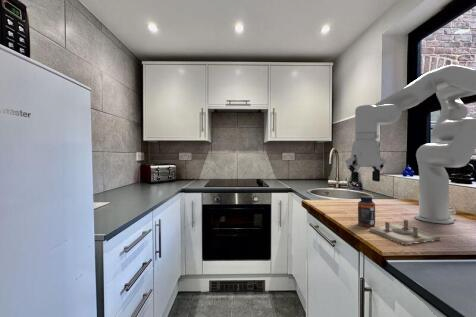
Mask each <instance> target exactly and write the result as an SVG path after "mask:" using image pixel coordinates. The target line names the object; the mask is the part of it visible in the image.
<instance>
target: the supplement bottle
mask: <svg viewBox="0 0 476 317" xmlns="http://www.w3.org/2000/svg"><path fill="white" fill-rule="evenodd" d="M357 222H358V223H357V224H358V225H359V226H361V227H366V228H371V227H376V203H375V202H374V201H373V196H370V195H361V196H360V200H359V201H358V203H357Z"/></svg>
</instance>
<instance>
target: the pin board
mask: <svg viewBox="0 0 476 317" xmlns="http://www.w3.org/2000/svg"><path fill="white" fill-rule="evenodd" d="M369 232H371V233H374V234H375V235H378V234H379V235H378V236H380V237H383V236H384V237H383V238H385V239H388V238H389V239H388V240H391V239H392V241H393V240H395V241H398V242H401V243H403V244H409V243H415V242H424V241H432V240H439V239H440V240H441V236H440V235H436V234H432V233H429V232H426V231H423V230H421V229H419V228H418V227H417V226H413V227H411V226H409V220H408V219H403V223H399V224H391V225H390V222H389V221H385V224H384V225H383V226H381V225H380V226H373V227H369ZM440 240H439V241H440ZM395 241H394V242H395ZM398 242H397V243H398ZM432 242H433V241H432ZM403 244H402V245H403Z"/></svg>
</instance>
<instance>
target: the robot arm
mask: <svg viewBox="0 0 476 317" xmlns="http://www.w3.org/2000/svg"><path fill="white" fill-rule="evenodd" d="M433 94H436V97H437V100H438V102H439V104H440V107H441V111H440V113H439V116H438V118H437V119H436V121H435V123H434V126H433V127H432V130H431V132H430V138H431V140H432V141H434V142H430V143H425V144H422V145H420V146H419V148H417V150H416V153H415V157H416V161H417V165H418V177H419V178H418V201H419V202H418V212H417V213H415V214H414V218H415V219H417V220H419V221H422V222H426V223H432V224H433V223H434V224H445V225H447V224H453V223H455V219H454V218H453V217H451V215H456V214H457V210H456V209H454V208H453V209H450V208H449V207H450V198H449V197H450V177H449V174H448V172H447V170H446V168H461V167H465V166H466V165H467V164H469V162H470V161H471V159H472V157H473V155H474V153H475V151H476V118H475V117H467V116H468V113H469V110H468V107H467V106H466V104H465V103H464V102H463V101H462V99H461V98H466V97H470V96H475V95H476V69H474V68H470V67H467V66H462V65H457V64H456V65H455V64H450V65H449V64H448V65H445V66H441V67H440V68H437V69H434V70H431V71H429V72H426V73H424V74H422V75H421V76H419V77H418V78H417V79H415V80H413V81H412V82H410V83H409V84H407V85H406V86H405V87H403V88H402V89H400V90H397V91H395V92H394V93H392V94H391V95H388V96H387V97H385V98H384V99H382V100H380V101H378V102H376V103H375V104H363V105H359V106H357V107H356V108H355V110H354V113H355V114H354V128H355V129H354V141H352V145H351V152H350V157H349V158H347V159H346V160H345V163H346V166H347V168H348V170H349V172H351V175H350V180H351V182H352V183H359V179H360V178H359V175H360V174H359V172H358V171H359V169H360V168H372V171H371V172H372V174H371V175H372V176H371V181H372V182H380V181H381V172H382V169H383V168H384V165H385V163H386V159H384V158H382V157H381V153H380V146H379V145H380V144H379V141H378V138H379V135H378V126H385V125H391V124H395V123H396V122H397V121H399V120H400V119H401V116H402V111H405V110H408V109H411V108H413V107H416V106H418V105H420V103H423V101H425V100H427V98H430V97H431V96H433Z"/></svg>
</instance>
